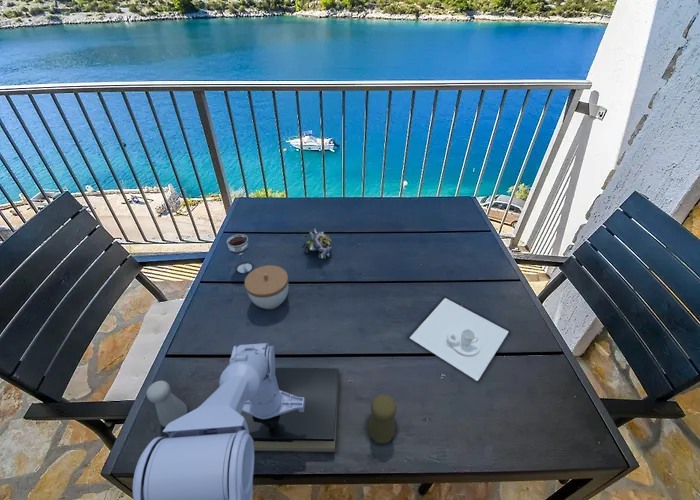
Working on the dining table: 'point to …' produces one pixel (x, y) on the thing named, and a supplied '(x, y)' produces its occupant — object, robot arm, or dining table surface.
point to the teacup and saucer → (460, 338)
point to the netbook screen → (317, 412)
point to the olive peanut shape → (382, 419)
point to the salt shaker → (166, 403)
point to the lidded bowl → (267, 286)
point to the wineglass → (239, 250)
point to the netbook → (297, 443)
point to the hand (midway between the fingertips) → (273, 423)
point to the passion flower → (319, 244)
